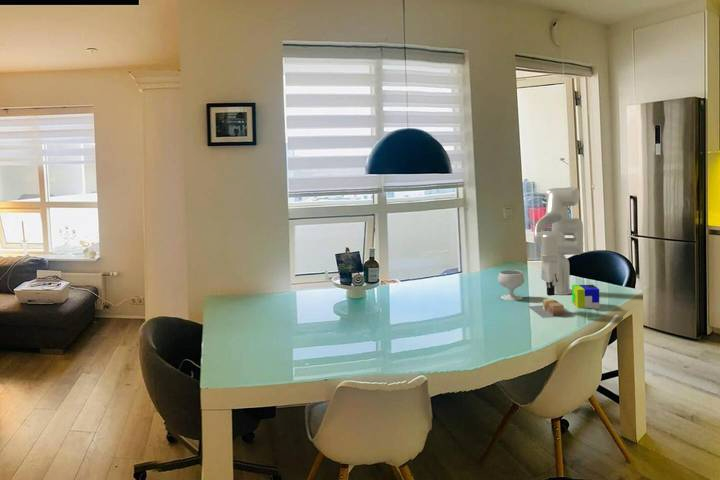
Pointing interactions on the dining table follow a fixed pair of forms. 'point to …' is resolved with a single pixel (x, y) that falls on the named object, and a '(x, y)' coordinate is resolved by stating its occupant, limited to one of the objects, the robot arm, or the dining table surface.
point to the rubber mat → (544, 314)
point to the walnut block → (553, 307)
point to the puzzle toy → (585, 296)
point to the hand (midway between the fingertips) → (550, 295)
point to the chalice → (511, 283)
